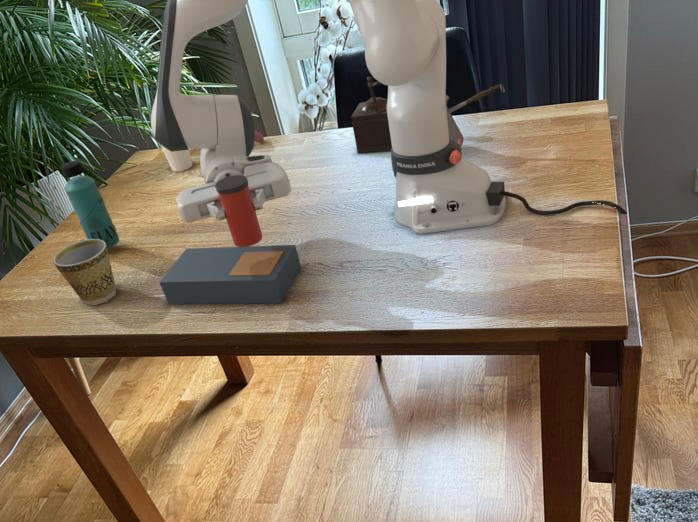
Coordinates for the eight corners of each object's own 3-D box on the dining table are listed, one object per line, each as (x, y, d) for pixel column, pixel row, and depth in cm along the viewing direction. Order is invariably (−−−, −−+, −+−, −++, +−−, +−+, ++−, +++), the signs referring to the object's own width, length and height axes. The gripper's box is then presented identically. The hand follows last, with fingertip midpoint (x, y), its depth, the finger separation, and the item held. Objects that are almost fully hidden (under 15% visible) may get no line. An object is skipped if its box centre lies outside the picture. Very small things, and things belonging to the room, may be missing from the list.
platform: (301, 267, 133) (295, 243, 130) (281, 303, 125) (274, 278, 121) (194, 270, 140) (185, 247, 137) (168, 304, 131) (158, 281, 128)
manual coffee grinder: (400, 150, 170) (389, 75, 159) (356, 154, 173) (343, 80, 162) (409, 126, 182) (400, 54, 171) (368, 130, 185) (357, 59, 174)
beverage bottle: (96, 260, 151) (56, 173, 138) (91, 249, 155) (51, 164, 143) (125, 249, 152) (88, 163, 140) (120, 239, 157) (83, 154, 145)
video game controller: (230, 151, 194) (218, 134, 188) (236, 138, 195) (223, 120, 189) (261, 151, 190) (249, 133, 184) (266, 138, 191) (255, 120, 185)
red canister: (267, 231, 125) (251, 174, 119) (257, 247, 121) (240, 188, 115) (239, 232, 127) (222, 175, 120) (228, 247, 123) (209, 190, 116)
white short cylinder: (188, 171, 183) (180, 145, 179) (165, 173, 185) (156, 148, 180) (198, 160, 188) (190, 135, 184) (175, 162, 190) (167, 137, 186)
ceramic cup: (125, 300, 135) (105, 255, 129) (74, 316, 133) (51, 271, 127) (124, 270, 145) (105, 227, 139) (76, 284, 143) (55, 241, 137)
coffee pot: (411, 165, 162) (403, 100, 153) (421, 145, 171) (413, 82, 162) (504, 160, 156) (501, 92, 147) (509, 139, 164) (507, 74, 155)
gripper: (169, 181, 127) (174, 210, 116) (277, 152, 130) (292, 178, 119) (180, 212, 131) (186, 243, 120) (284, 183, 134) (300, 211, 123)
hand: (240, 211), depth 120 cm, fingers closed on red canister, 5 cm apart
